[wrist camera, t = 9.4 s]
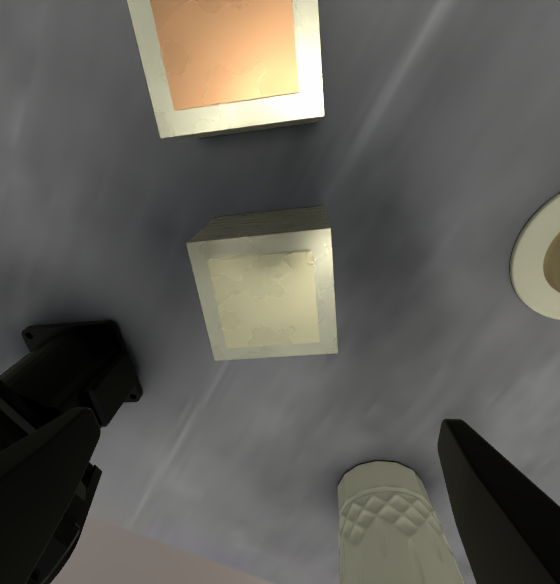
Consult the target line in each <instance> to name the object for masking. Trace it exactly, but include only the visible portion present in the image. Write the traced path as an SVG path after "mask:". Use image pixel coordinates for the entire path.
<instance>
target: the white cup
mask: <svg viewBox="0 0 560 584" xmlns="http://www.w3.org/2000/svg"><path fill="white" fill-rule="evenodd" d="M338 505H339V526H338V541H339V575H340V584H465V582H464V579H463V577H462V574H461V572H460V569H459V567H458V564H457V562H456V559H455V557H454V554H453V552H452V550H451V548H450V545H449V543H448V541H447V539H446V537H445V534H444V531H443V529H442V526H441V524H440V522H439V520H438V517H437V515H436V514H435V512H434V510H433V508H432V505H431V502H430V500H429V497H428V495H427V492H426V490H425V487H424V485H423V482H422V481H421V480H420V478H419V477H418V476H417V475H416V473H415V472H414V471H413V470H412V469H410V468H407V467H405V466H403V465H401V464H399V463H396V462H385V461H374V462H370V463H365V464H361V465H358V466H356V467H355V468H353V469H352V470H350V471H349V472H347V473H346V474H344V476H343V478H342V479H341V481H340V483H339V485H338Z"/></svg>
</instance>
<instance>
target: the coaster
mask: <svg viewBox="0 0 560 584" xmlns="http://www.w3.org/2000/svg"><path fill="white" fill-rule="evenodd" d="M559 232H560V193H559V194H557V195H556V196H554V197H553V198H552V199H550V200H549V201H548V202H547V203H545V204H544V205H543V206H542V207H541V208H540V209H539V210H538V211H537V212H536V213H535V214H534V215H533V216H532V217H531V219H530V220H529V221H528V222H527V224H526V225H525V227H524V228H523V229H522V231H521V233H520V235H519V237H518V238H517V240H516V243H515V245H514V248H513V251H512V255H511V259H510V278H511V282H512V286H513V288H514V290H515V292H516V294H517V295H518V297H519V298H520V299H521V300H522V301H523V302H524V303H525V304H526V305H527V306H529V307H530V308H531V309H533V310H534V311H536V312H537V313H539V314H541V315H544V316H546V317H549V318H554V319H558V320H560V293H559V292H557V291H556V290H554V289H553V288H552V287H551V286H550V285H549V284H548V282H547V281H546V279H545V276H544V272H543V262H544V257H545V254H546V251H547V249H548V247H549V245H550V244H551V242H552V241H553V239H554V238H555V237H556V236H557V234H558V233H559Z"/></svg>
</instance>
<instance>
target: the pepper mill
mask: <svg viewBox="0 0 560 584" xmlns="http://www.w3.org/2000/svg"><path fill="white" fill-rule="evenodd" d="M543 272H544V276H545V279H546V281H547V282H548V284H549V285H550V286H551V287H552V288H553V289H554V290H556V291H557V292H559V293H560V232H559V233H558V234H557V236H556V237H555V238H554V239H553V241H552V242H551V244H550V245H549V247H548V249H547V251H546V254H545V257H544V262H543Z"/></svg>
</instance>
